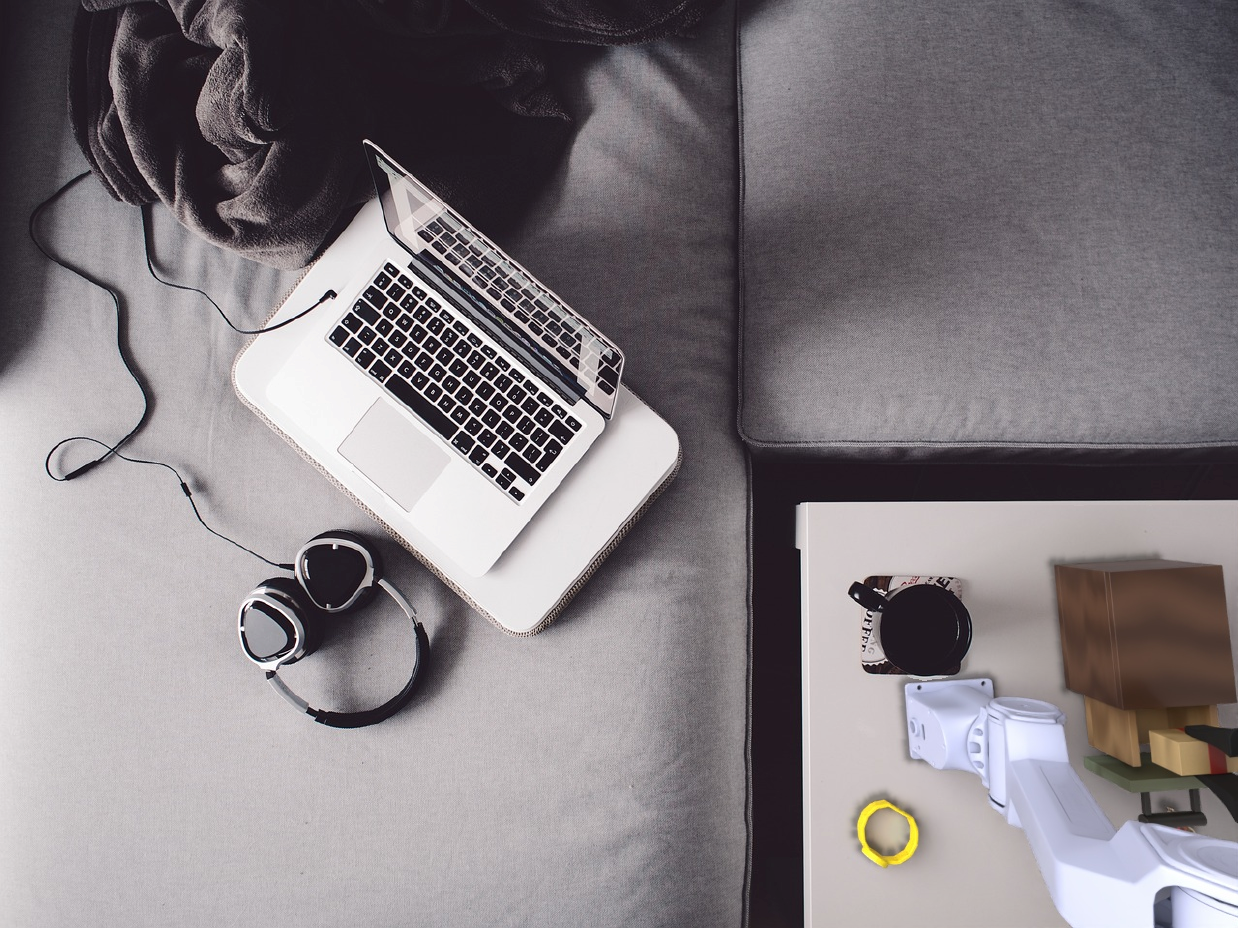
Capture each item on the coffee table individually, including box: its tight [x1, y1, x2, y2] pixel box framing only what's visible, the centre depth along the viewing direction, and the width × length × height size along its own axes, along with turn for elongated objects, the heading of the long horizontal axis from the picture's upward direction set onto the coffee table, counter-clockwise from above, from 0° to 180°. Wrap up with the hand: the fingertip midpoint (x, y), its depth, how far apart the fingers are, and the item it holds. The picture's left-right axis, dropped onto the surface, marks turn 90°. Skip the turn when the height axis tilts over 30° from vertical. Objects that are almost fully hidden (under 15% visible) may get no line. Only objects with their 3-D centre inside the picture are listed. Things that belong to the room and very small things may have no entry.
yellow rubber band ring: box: [856, 799, 920, 869], centre depth 73 cm, size 6×3×6 cm
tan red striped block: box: [1149, 725, 1238, 776], centre depth 65 cm, size 7×3×4 cm, turn 93°
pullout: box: [1082, 695, 1220, 828], centre depth 71 cm, size 17×10×7 cm, turn 3°
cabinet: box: [1053, 558, 1238, 711], centre depth 72 cm, size 13×11×8 cm
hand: (1197, 748), depth 65 cm, fingers closed on tan red striped block, 3 cm apart
